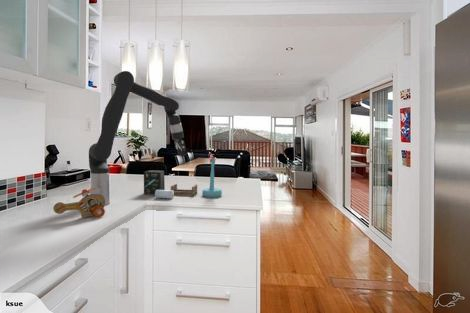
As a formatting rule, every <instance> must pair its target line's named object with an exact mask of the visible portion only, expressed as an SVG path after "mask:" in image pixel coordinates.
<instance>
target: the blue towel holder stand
mask: <svg viewBox="0 0 470 313" xmlns="http://www.w3.org/2000/svg"><path fill="white" fill-rule="evenodd" d="M215 165H216V160H215V157H214V156H213V157H212V160H211V162H210V166H211V167H210V168H211V169H210V175H209V178H210V180H209V187H208V188H203V189H202V192H201V194H202V197H204V198H219V197H221V196H222V194H223V193H222V189H220V188H216V187H215Z"/></svg>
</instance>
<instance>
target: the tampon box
mask: <svg viewBox="0 0 470 313" xmlns="http://www.w3.org/2000/svg"><path fill="white" fill-rule="evenodd" d="M165 184H166V182H165V170H145V171H143V194H144V195H155V191H156V190H166V189H165V188H166V187H165Z"/></svg>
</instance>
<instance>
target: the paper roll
mask: <svg viewBox="0 0 470 313" xmlns="http://www.w3.org/2000/svg"><path fill="white" fill-rule="evenodd" d="M174 197H175V196H174V191H173V190H171V189H170V190H169V189H165V190H156V191H155V194H154V198H155V199H160V198H167V200H168V199H169V200H172V198H173V199H174Z"/></svg>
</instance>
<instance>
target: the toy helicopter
mask: <svg viewBox="0 0 470 313" xmlns="http://www.w3.org/2000/svg"><path fill="white" fill-rule="evenodd" d="M90 188H91V187H90ZM90 188H89V189H86V188H84V189H82V190H81V192H80V193H78V194H75V195H74V196H72V199H74V198H77V197H80V196H82V198H81V199H80V200H79V201H75V202H69V203H64V202H62V201H61V202H60V201H59V202H57V203H55V204H54V205H53V207H52V208H53V212H54V213H55V214H57V215H61V214H64V213H65V212H66V211H67V212H69V211H79V212H80V217H81V218H82V219H86V218H88V217H89V216H90V217H91V216H94V217H95V218H102V217H104V215H105V213H106V210H105V206H106V205H105V198H104V197H103V196H102V195H100V194H90V191H91V190H94V189H96V188H97V187H94V188H91V189H90ZM91 198H95V199H96V200H97V202H98V203H100V205H99V204H98V203H96V200H95V199H91Z"/></svg>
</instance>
